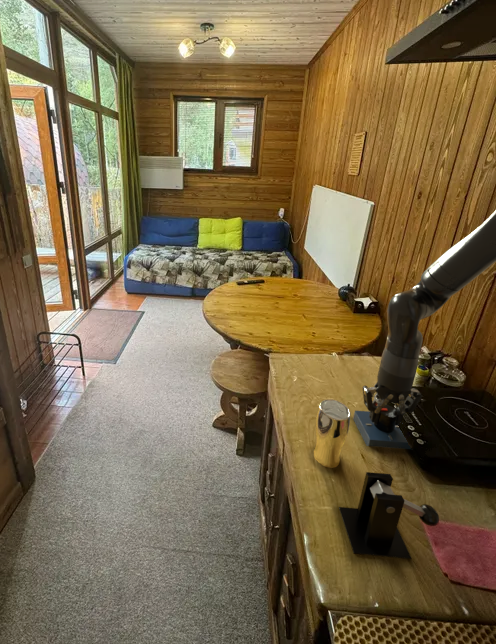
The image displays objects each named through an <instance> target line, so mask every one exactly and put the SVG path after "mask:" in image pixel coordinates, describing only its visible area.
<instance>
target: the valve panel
mask: <svg viewBox="0 0 496 644" xmlns="http://www.w3.org/2000/svg"><path fill="white" fill-rule="evenodd" d="M369 415H370V411H369V410H354V413H353V422H354V424H355V426H356V428H357V430H358V432H359V434H360V436H361V438H362V440H363V442H364V444H365V446H366V447H373V448H388V449H400V450H401V449H403V450H412V449H411V448H410V446H409V445H408V442H407V440H406V438H405V437H404V435H403V433H402V431H401V430H400V428H399V426H398V425H395V428H394V431H393V432H391V433H386V432H383V431H381V430H379V429H377V428H376V427H375V425H374V424H373V422H372V421H371V419H370V418H369Z"/></svg>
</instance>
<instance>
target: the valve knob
mask: <svg viewBox="0 0 496 644" xmlns="http://www.w3.org/2000/svg"><path fill="white" fill-rule="evenodd" d="M395 408H396V407H393V406H392V405H390V404H387V405H386V406H385V408H382V409H381V411H380V412H379V413H380V414H379V419H378V423H377V424H374V425H375V427H376V428H377V429H379V430H381V431H383V432H386V433H391V432H393V431H394V428H395V424H396V420H397V416H398V412H397V411H396V409H395Z"/></svg>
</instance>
